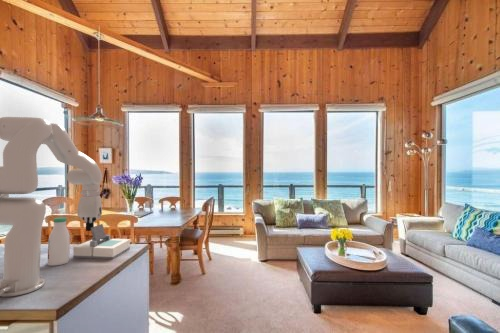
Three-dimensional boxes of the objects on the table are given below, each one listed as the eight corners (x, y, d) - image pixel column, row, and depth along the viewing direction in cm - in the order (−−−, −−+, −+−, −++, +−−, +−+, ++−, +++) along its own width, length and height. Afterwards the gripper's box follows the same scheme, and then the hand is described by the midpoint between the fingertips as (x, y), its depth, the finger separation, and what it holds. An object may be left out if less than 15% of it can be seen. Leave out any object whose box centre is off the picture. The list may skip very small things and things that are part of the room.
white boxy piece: (112, 259, 119) (113, 242, 119) (73, 257, 120) (73, 241, 120) (129, 248, 135) (130, 234, 135) (94, 247, 136) (95, 233, 136)
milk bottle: (73, 260, 116) (75, 216, 116) (59, 266, 108) (60, 219, 109) (57, 259, 117) (59, 216, 117) (42, 265, 109) (44, 219, 110)
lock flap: (93, 245, 123) (97, 244, 123) (89, 228, 123) (92, 227, 123) (105, 240, 132) (107, 239, 132) (100, 224, 132) (103, 223, 132)
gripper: (70, 194, 124) (69, 231, 124) (101, 195, 124) (99, 232, 124) (81, 192, 132) (80, 228, 132) (109, 193, 132) (108, 229, 131)
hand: (89, 230), depth 128 cm, fingers closed
